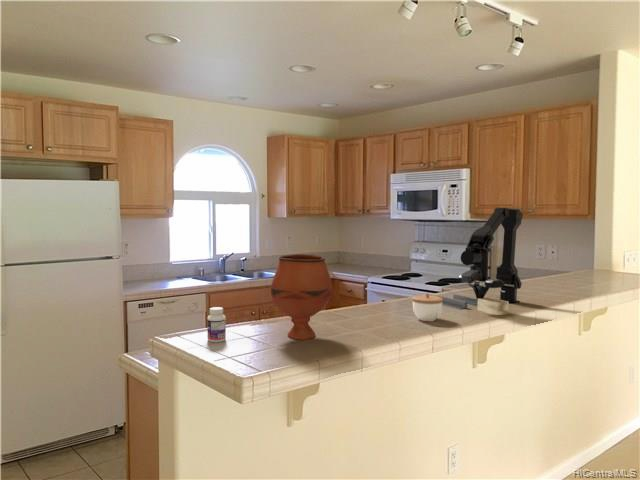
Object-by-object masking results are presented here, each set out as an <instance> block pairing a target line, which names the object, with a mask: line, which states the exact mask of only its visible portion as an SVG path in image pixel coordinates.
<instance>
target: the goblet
mask: <svg viewBox="0 0 640 480" xmlns="http://www.w3.org/2000/svg"><path fill="white" fill-rule="evenodd" d="M332 291H333V283H332V278H331V276H330V272H329V269H328V267H327V263H326V259H325V257H324V256H320V255H314V254H305V253H304V254H303V253H302V254H301V253H300V254H297V253H296V254H289V255H288V254H287V255H281V256H279V257H278V264H277V268H276V271H275V273H274V275H273V279H272V282H271V286H270V295H271V298H272V300H273V303H274V304H275V305H276V307H277V308H278V309H279V310H280V311H281V312H282V313H283V314H285V316H288V317H290V319H291V322H292V323H293V325H292V327H291V328H290V330H289V331H288V332H287V337H288V338H290V339H294V340H309V339H313V338H315V337H316V332H315V331H314V329H313V327H311V326H310V325H309V322H310V321H311V318H312V317H313V316H314V315H316V314H317V313H319V312H321V311H322V310H323V309H324V307H326V305H327V304H328V303H329V302H330V300H331V299H330V298H331V296H332Z"/></svg>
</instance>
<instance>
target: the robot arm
mask: <svg viewBox="0 0 640 480" xmlns="http://www.w3.org/2000/svg"><path fill="white" fill-rule="evenodd" d="M523 215H524V214H523V212H522V211H521V210H520V209H519V208H508V207H506V206H505V207H501V206H500V207H495V208H494V211H493V213H491V215H490V217H489V218H488V219H487V220H486V222H485V223H484V225H482V226H481V227H480V228H477V229H475V230H474V231H473V232H472V234H471V236H470V238H469V241H468V243H467V245H466V247H465V250H464V251H463V252H462V253H461V254H460V261H461V263H462V264H463V265H465V266H469V267H470V269H469V270H466V271H465V272H463V273H462V274H460V275H459V276H458V282H459V283H466V284H468V286H470V287H471V288H472V289H473V292H474V295H475V298H476V299H477V301H478V298H485V296H486V294H487V293H488V291H489V290H490V289H497V288H498V289H500V292H499V293H500V295H499V297H500V298H499V300H504V301H509V304H513V303H519V302H520V300H518V298H517V296H518V295H517V293H518V292H517V291H518V290H520V289H521V288H522V280H521V279H520V277H519V275H518V274H519V273H518V272H519V270H518V269H517V267H516V265H515V258H516V256H515V255H516V242H517V241H516V240H517V230H518V229H519V227H520V226H521V225H522V219H523V218H524V216H523ZM500 226H502V228H503V241H502V242H503V243H502V244H503V245H502V254H501V255H502V256H501V259H502V260H501V264H500V265H499V266H497V267H496V275H495V278H491V276H489V270H490V269H491V266H490V265H489V258H490V257H489V253H490V252H492V250H491V248H490V246H491V245H492V243H493V241H494V239H495V238H494V234H495V233H496V231H497V229H498V228H499V227H500Z"/></svg>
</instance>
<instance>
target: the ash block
mask: <svg viewBox="0 0 640 480" xmlns="http://www.w3.org/2000/svg"><path fill="white" fill-rule="evenodd" d="M499 299H500V298H499ZM499 299H498V298H493V297H489V296H487V297H484V298H478V305H477V307H476V308H477V309H476V310H477V311H479V312H483V313H488V314H491V315H495V316H499V315H508V314H509V308H510V307H509V304H510V303H509V301H504V300H499Z"/></svg>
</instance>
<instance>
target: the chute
mask: <svg viewBox="0 0 640 480" xmlns="http://www.w3.org/2000/svg"><path fill="white" fill-rule="evenodd" d="M436 296H437V297H441V298H442V299H443V302H442V306H446V307H450V308H453V309H457V310H465V309H468V305H472V306H477V305H478V301H477V298H476V297H472V296H471V297H470V296H466V295H462V294H457V293H456V294H455V293H454V294H453V296H452V297H448V296H443V295H436Z"/></svg>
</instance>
